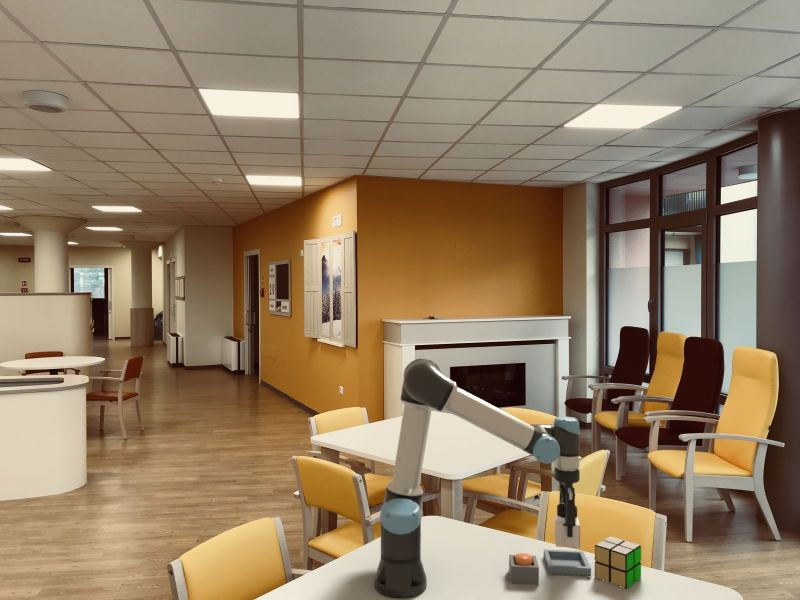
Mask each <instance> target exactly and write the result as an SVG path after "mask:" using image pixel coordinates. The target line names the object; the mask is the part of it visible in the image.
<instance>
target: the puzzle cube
mask: <svg viewBox="0 0 800 600" xmlns="http://www.w3.org/2000/svg"><path fill="white" fill-rule="evenodd" d="M641 561H642V545H641V544H638V543H634V542H632V541H627V540H624V539H622V538H619V537H614V536H609V537H606V538H605V539H603V540H601V541H600V542H598V543H596V544H595V545H594V578H595V579H597V578H598V580H600V579H601V581H603V580H604V581H603V582H606V581H607V582H606V583H608V582H610V584H611V583H612V585H614V584H615V586H617V587H620V586H621V587H620V588H622V587H623V588H622V589H625V588H626V589H628V588H629V587H630V586H632V585H633V584H634V583H636V582H638V581H639V580H640V579H641V578H642V562H641Z"/></svg>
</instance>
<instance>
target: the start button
mask: <svg viewBox="0 0 800 600" xmlns="http://www.w3.org/2000/svg"><path fill="white" fill-rule="evenodd" d="M514 555H515V565H529V566H532V556H533V555H530V554H528V553H516V554H514Z"/></svg>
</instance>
